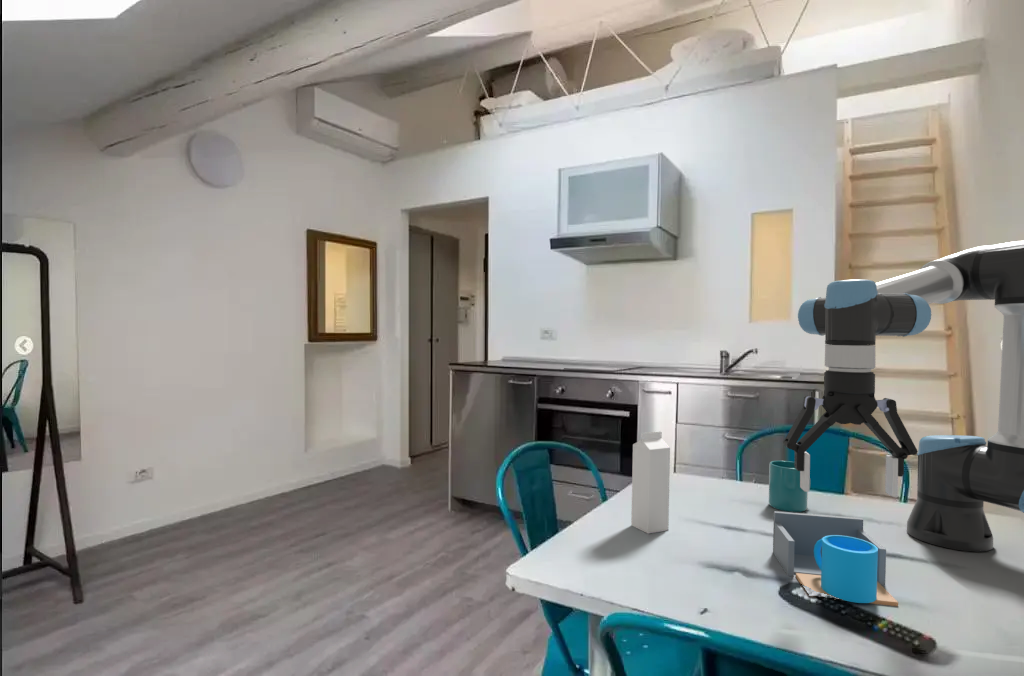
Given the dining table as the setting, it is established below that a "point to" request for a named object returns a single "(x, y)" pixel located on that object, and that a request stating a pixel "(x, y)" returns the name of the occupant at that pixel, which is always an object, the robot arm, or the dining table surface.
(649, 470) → the milk
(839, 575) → the mug
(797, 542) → the box
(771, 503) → the cup
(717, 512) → the dining table surface
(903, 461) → the robot arm
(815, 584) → the panel
